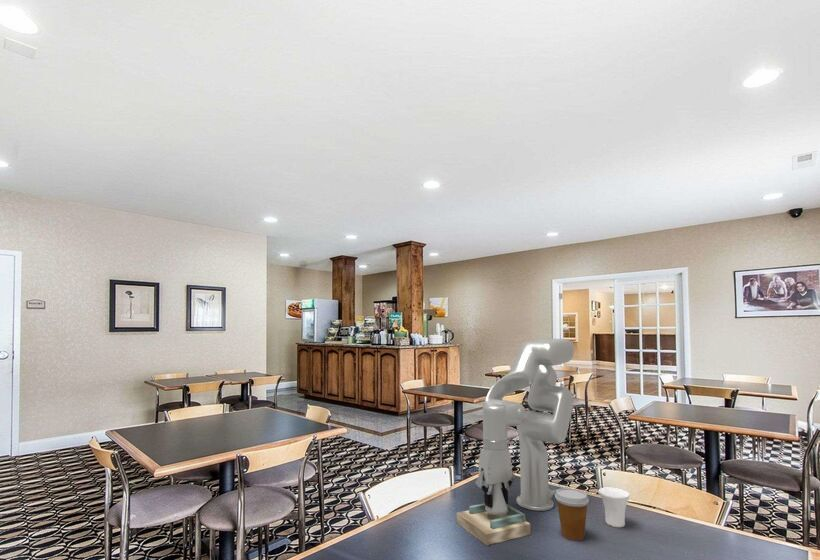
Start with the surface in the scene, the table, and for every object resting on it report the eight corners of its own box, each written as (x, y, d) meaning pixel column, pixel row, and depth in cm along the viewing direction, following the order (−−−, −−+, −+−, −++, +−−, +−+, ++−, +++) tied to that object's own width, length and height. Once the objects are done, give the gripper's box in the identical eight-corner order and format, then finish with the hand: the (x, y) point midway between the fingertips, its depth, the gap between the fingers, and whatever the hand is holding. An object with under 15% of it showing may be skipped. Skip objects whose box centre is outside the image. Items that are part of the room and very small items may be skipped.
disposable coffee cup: (574, 546, 121) (572, 501, 122) (549, 532, 129) (548, 490, 131) (597, 539, 125) (595, 496, 127) (571, 525, 134) (570, 485, 135)
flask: (508, 516, 129) (508, 482, 130) (484, 514, 130) (483, 480, 131) (508, 507, 136) (507, 474, 137) (485, 505, 137) (484, 472, 139)
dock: (497, 513, 142) (497, 497, 143) (530, 534, 128) (530, 516, 129) (456, 522, 136) (456, 506, 136) (486, 545, 121) (486, 526, 122)
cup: (596, 516, 140) (594, 484, 142) (626, 519, 139) (625, 487, 140) (602, 528, 132) (600, 494, 133) (635, 532, 130) (633, 497, 131)
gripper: (509, 438, 142) (510, 496, 140) (466, 444, 135) (466, 505, 133) (524, 444, 136) (526, 504, 134) (479, 450, 128) (480, 514, 126)
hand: (496, 504), depth 133 cm, fingers closed on flask, 5 cm apart
